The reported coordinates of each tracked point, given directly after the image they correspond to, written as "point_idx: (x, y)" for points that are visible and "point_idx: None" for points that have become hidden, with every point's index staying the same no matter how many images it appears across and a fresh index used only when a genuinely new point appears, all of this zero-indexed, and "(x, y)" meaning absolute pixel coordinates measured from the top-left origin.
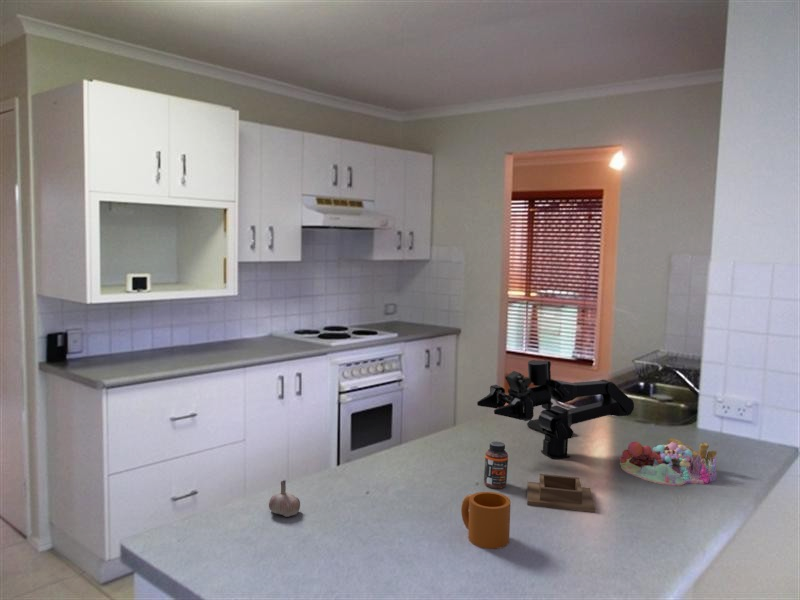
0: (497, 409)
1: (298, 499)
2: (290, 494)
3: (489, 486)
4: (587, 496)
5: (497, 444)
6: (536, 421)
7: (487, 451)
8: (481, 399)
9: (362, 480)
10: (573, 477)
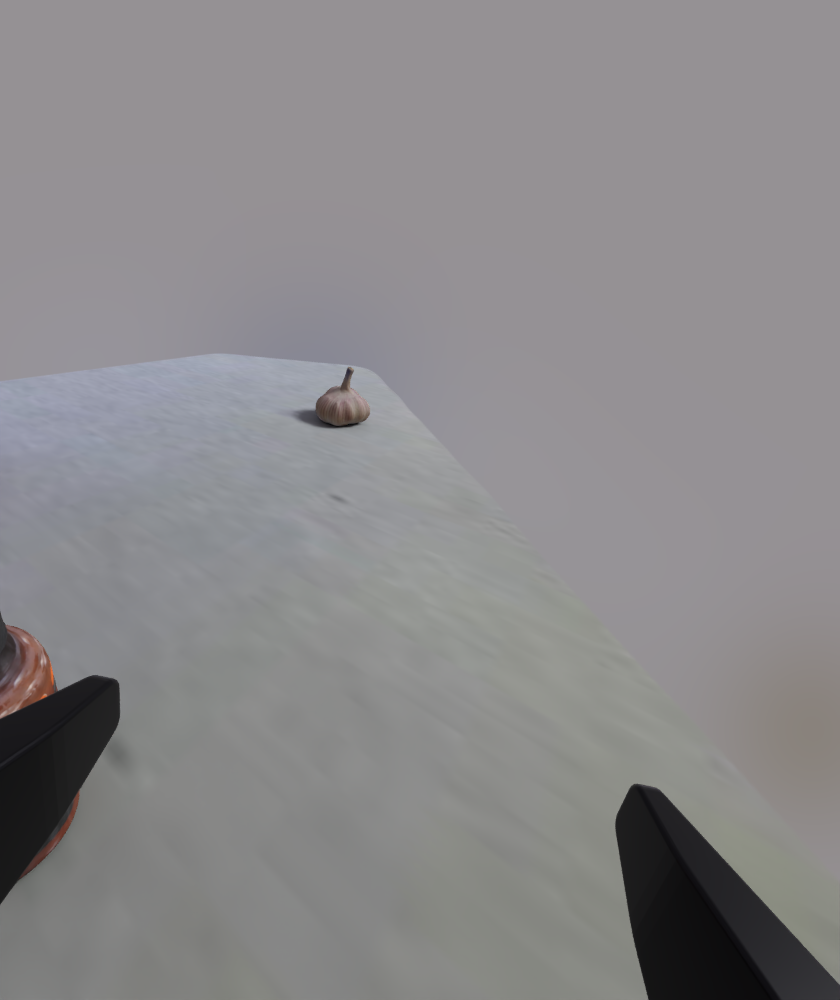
0: (48, 699)
1: (334, 406)
2: (347, 399)
3: None
4: None
5: None
6: None
7: (19, 631)
8: (738, 882)
9: (412, 521)
10: None
